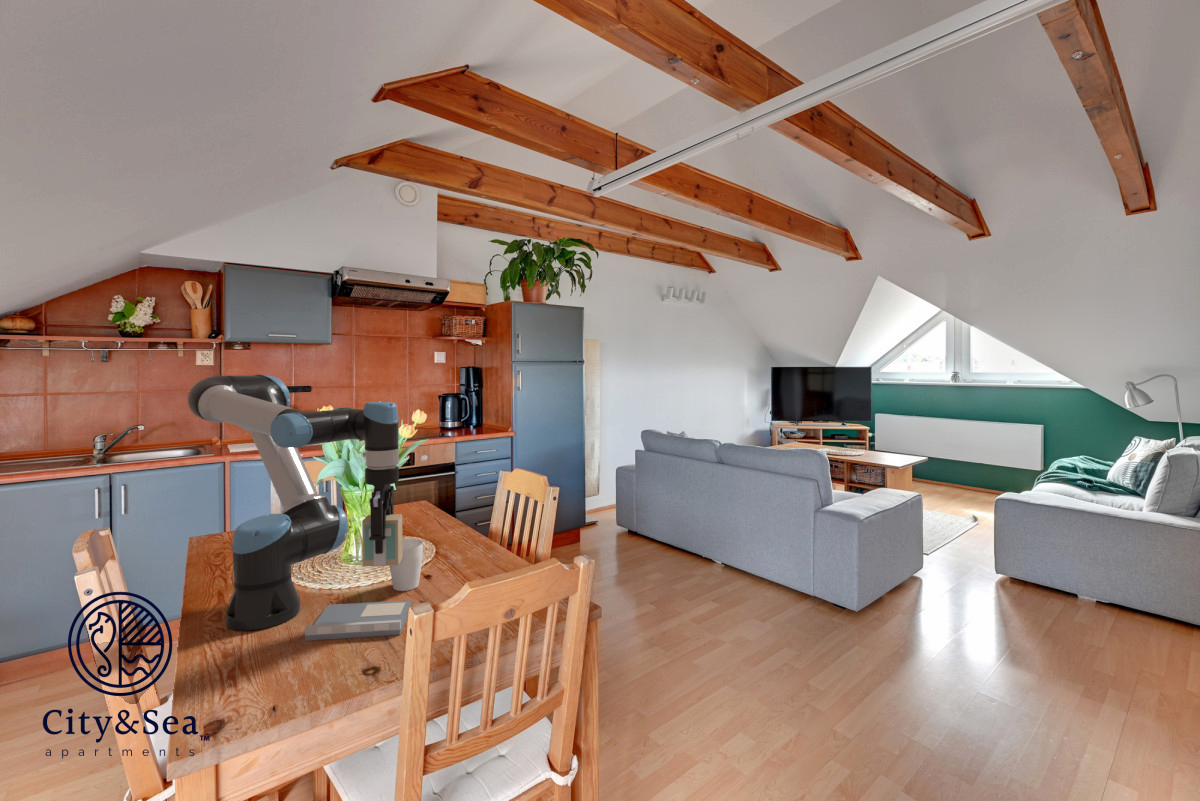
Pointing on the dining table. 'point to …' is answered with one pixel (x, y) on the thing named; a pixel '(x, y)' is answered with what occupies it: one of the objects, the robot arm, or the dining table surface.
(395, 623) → the grey flat rectangular block
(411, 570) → the cup
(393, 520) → the tea box
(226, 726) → the dining table surface
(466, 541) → the dining table surface
